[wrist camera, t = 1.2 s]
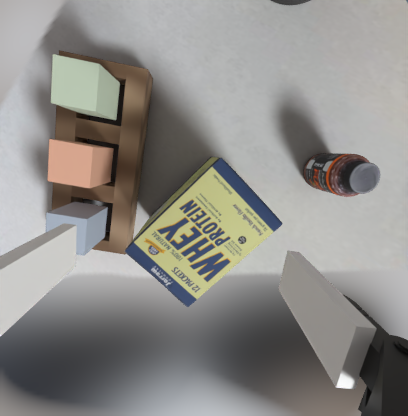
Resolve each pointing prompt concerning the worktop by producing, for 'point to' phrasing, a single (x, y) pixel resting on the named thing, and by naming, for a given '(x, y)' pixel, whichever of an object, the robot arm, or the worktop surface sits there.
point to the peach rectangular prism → (79, 163)
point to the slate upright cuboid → (81, 223)
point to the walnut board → (127, 155)
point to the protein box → (202, 231)
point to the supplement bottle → (342, 174)
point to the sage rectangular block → (84, 87)
